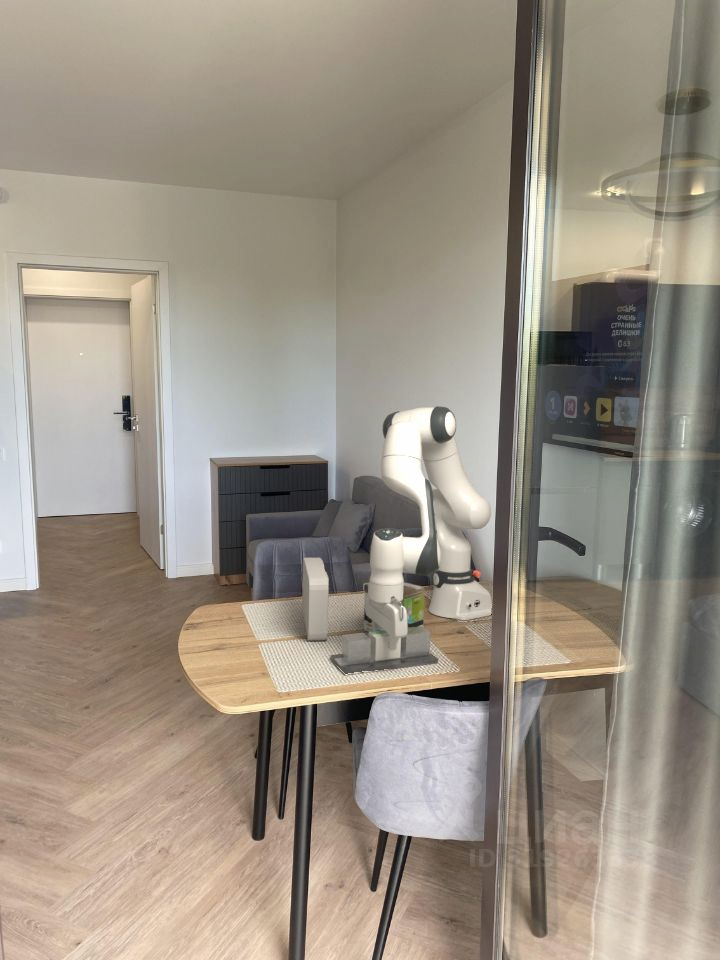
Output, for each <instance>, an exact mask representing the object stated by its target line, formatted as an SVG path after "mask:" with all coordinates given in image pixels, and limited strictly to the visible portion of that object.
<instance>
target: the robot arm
mask: <svg viewBox="0 0 720 960" xmlns="http://www.w3.org/2000/svg"><path fill="white" fill-rule="evenodd" d="M456 431H457V420H456V416H455V414H454V412H452V411H451V409H449V408H448V407H446V406H438V405H437V406H434V407H430V406H429V407H428V406H427V407H425V406H424V407H415V408H412V409H406V410H402V411H399V410H398V411H394V412H392V413H389V414H388V415H386V417H385V419H384V420H383V423H382V434H383V438H384V443H383V446H382V453H381V461H380V462H381V464H380V467H381V468H380V476H381V479H382V481H383V483H384V484H385V485H386V486H387V488H389V489H390V490H391V491H392V492H395V493H396V494H399V495H401V496H403V497H406V498H408V499H409V500H411V501H413V502H415V503H416V505H417V506H418V507H419V512H420V525H421V531H422V532H421V534H422V535H421V536H418V537H415V536H414V537H413V536H412V537H410V536H404V535H403V533H402V531H401V530H399V529H397V528H392V527H384V528H383V527H382V528H380V529H377V530H375V531H374V533H373V534H372V536H373V537H372V540H371V544H370V546H369V551H368V552H369V555H368V557H369V559H368V563H369V566H370V570H371V573H370V577H369V581H368V582H369V583H368V582H364V583H363V585H362V587H363V588H362V589H363V591H364V601H363V602H364V603H365V613H366V615H367V616H368V617H369V618H370V619H371V620H372V625H373V629H374V631H381V628H382V629H384V630H385V631H386V632H387V633H388V634H390V642H388V648H389V649H390V650H391V651H392V650H396V648H397V642H398V640H399V638H403V637H406V635H407V632H408V628H407V612H406V609H405V608H404V607H403V606H402V602H401V601H402V600H403V588H404V582H405V580H404V575H403V574H412V575H414V574H415V575H417V576H425V577H429V576H431V575H433V589H432V594H431V595H432V596H431V601H430V604H429V606H428V612H429V613H431V614H432V615H434V616H438V617H443V618H448V619H455V620H459V621H468V620H474V619H479V618H483V617H488V616H492V615H491V608H492V604H493V603H492V602H493V600H492V596H491V593H490V592H489V590H488V589H487V588H485V587H484V586H483V585H482V584H480V583H479V582H478V581H477V580H476V579H475V578H477V579H479V578H481V576H482V572H481V571H478V570H477V569H476V570H474V569H472V568H471V558H472V557H471V556H472V546H471V543H470V541H469V540H468V539H467V538H466V537H465V535H464V533H463V529H465V530H480V529H483V528H484V527H486V526H487V524H488V523H489V522H490V519H491V517H492V507H491V504H490V502H489V501H488V500H487V499H486V498H485V497H484V496H482V495H481V494H480V493H479V492H478V490H477V489H476V487H474V485H473V484H472V482H471V480H470V479H469V477H468V476H467V473H466V471H465V468H464V466H463V462H462V459H461V455H460V452H459V448H458V444H457V442H456V439H455V436H454V435H455V434H456ZM422 460H423V463H424V467H425V471H426V474H427V475H426V476H427V478H428V479H427V478H426V477H425V476H424V474H423V471H422V470H423V469H422ZM432 485H433V486H434V487H435V488H432Z"/></svg>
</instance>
